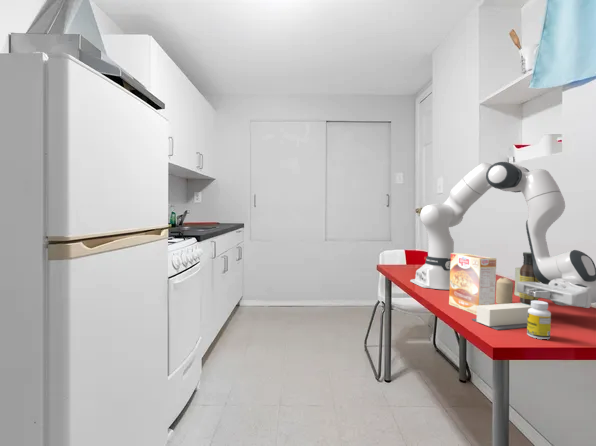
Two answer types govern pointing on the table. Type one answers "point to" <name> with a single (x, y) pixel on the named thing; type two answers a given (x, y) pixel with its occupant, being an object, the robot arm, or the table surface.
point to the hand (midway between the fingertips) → (531, 293)
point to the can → (517, 280)
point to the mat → (506, 326)
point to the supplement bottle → (539, 320)
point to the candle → (504, 291)
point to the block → (503, 314)
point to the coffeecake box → (472, 281)
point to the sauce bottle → (527, 277)
